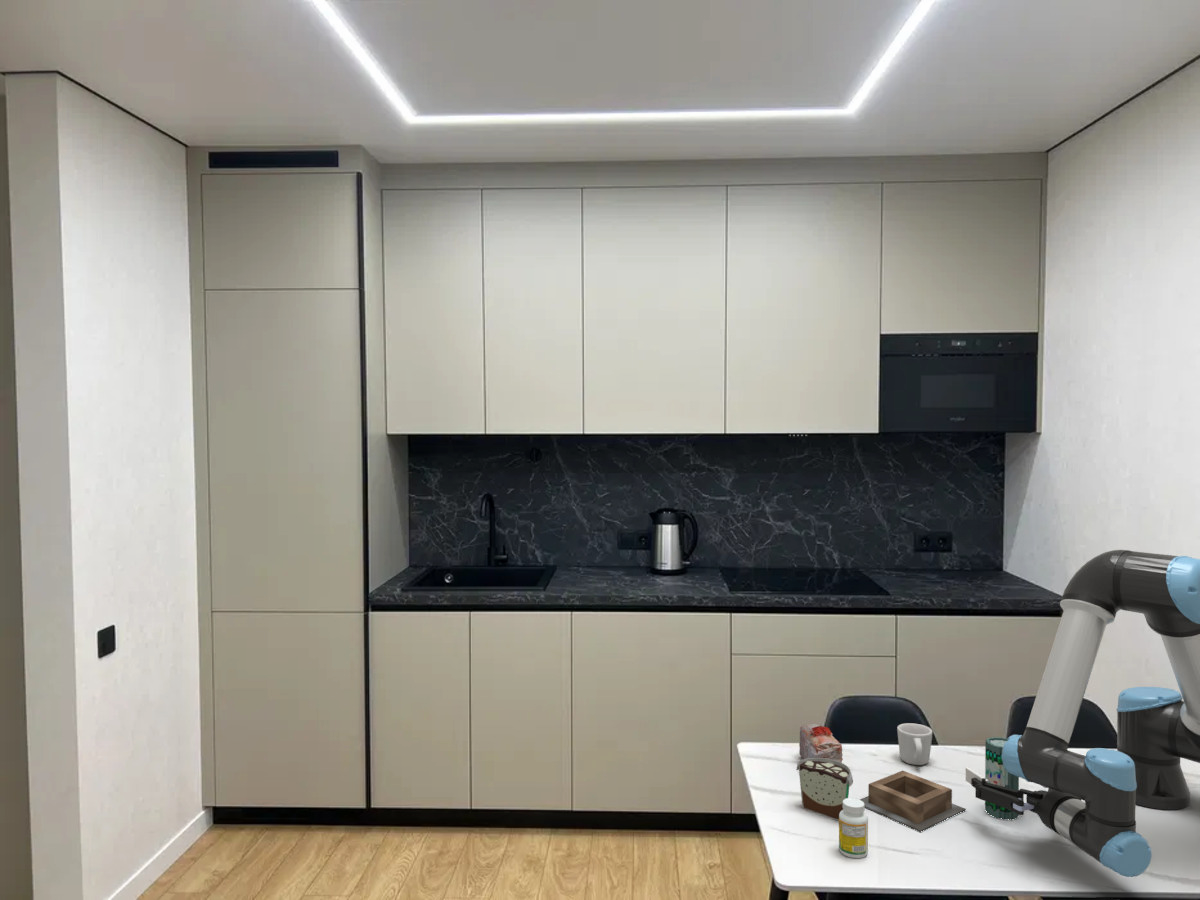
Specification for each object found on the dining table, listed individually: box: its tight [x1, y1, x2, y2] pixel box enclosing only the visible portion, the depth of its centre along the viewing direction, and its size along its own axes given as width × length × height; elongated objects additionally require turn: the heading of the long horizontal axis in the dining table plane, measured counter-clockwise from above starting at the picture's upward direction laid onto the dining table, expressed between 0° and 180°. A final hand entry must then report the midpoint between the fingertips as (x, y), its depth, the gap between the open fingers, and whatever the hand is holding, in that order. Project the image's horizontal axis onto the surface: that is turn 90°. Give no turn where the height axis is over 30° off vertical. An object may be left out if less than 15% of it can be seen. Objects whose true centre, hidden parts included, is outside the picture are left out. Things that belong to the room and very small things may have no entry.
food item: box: [798, 723, 843, 763], centre depth 202 cm, size 14×8×10 cm, turn 6°
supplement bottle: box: [838, 797, 869, 859], centre depth 162 cm, size 5×5×10 cm
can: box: [984, 736, 1020, 821], centre depth 177 cm, size 6×6×15 cm
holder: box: [859, 770, 967, 833], centre depth 181 cm, size 16×16×4 cm
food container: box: [796, 758, 854, 822], centre depth 179 cm, size 12×6×10 cm, turn 47°
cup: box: [896, 722, 933, 766], centre depth 203 cm, size 11×8×8 cm
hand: (996, 771), depth 179 cm, fingers open, 13 cm apart
